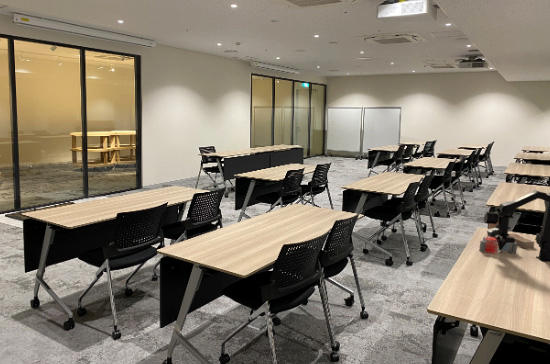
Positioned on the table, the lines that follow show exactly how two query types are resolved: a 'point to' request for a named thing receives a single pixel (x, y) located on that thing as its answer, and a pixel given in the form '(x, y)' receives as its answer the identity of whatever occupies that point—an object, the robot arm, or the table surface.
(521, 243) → the brick
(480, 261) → the table surface
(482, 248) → the door frame
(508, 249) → the door
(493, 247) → the red white patterned box
